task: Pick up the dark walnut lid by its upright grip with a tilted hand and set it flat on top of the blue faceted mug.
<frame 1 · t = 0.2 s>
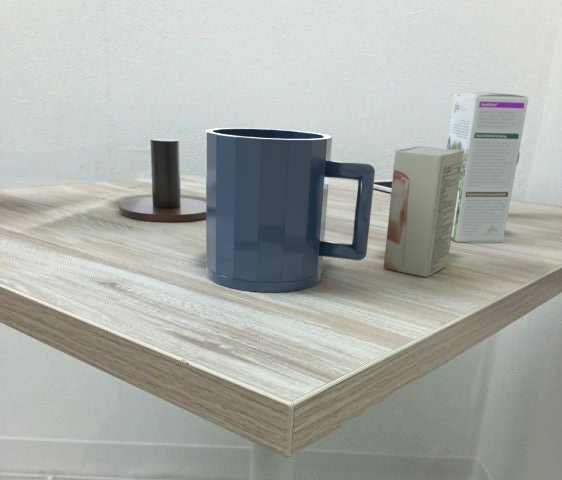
printed cream carton: (414, 270, 58), on the table
light bulb: (485, 215, 84), on the table
cell phone: (409, 193, 97), on the table
lid: (166, 212, 75), on the table
syrup box: (467, 238, 71), on the table
blue faceted mug: (263, 275, 53), on the table
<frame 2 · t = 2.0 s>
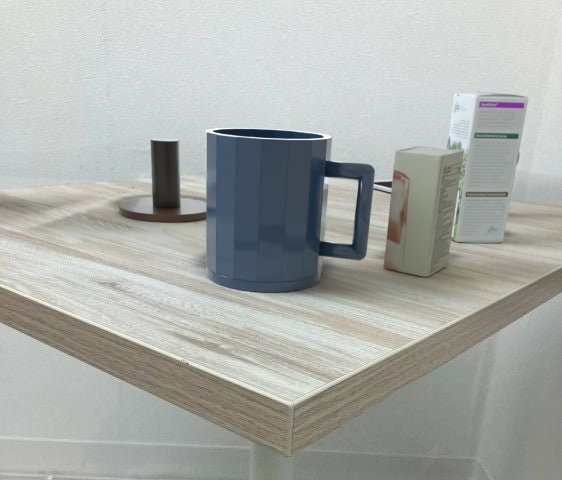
nothing on the table moved.
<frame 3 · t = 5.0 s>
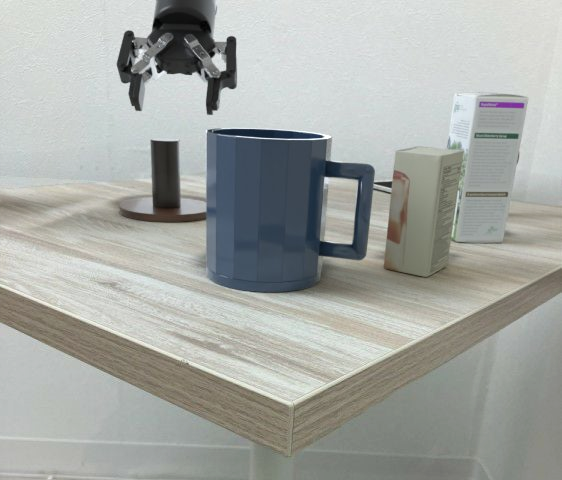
hand: (173, 108, 76), 11 cm above the table, tool tilted 45°, fingers open, 8 cm apart
nothing on the table moved.
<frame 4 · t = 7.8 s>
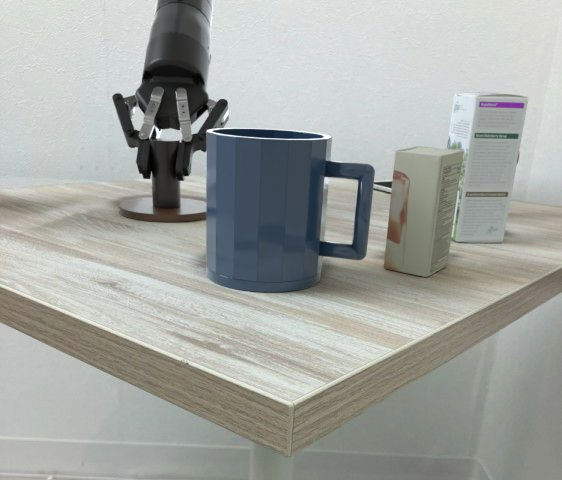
hand: (162, 174, 71), 4 cm above the table, tool tilted 45°, fingers closed on lid, 3 cm apart
lid: (166, 212, 75), on the table, touching gripper
everything else where it was.
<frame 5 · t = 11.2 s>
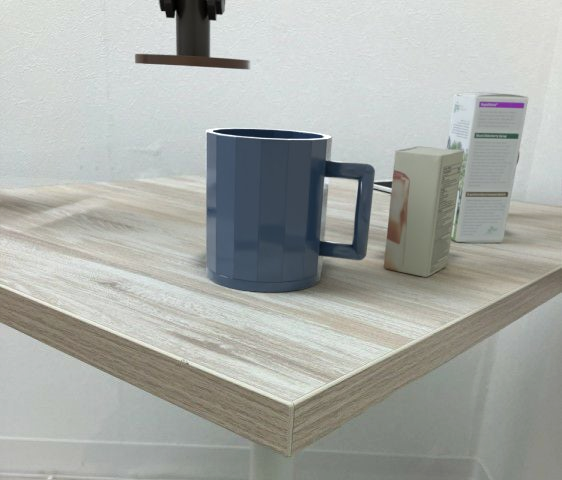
hand: (190, 10, 57), 20 cm above the table, tool tilted 45°, fingers closed on lid, 3 cm apart
lid: (193, 66, 61), point 15 cm above the table, touching gripper
everything else where it was.
when the fingers open (16 cm above the table, at t = 15.0 s): lid stays where it is, resting on blue faceted mug.
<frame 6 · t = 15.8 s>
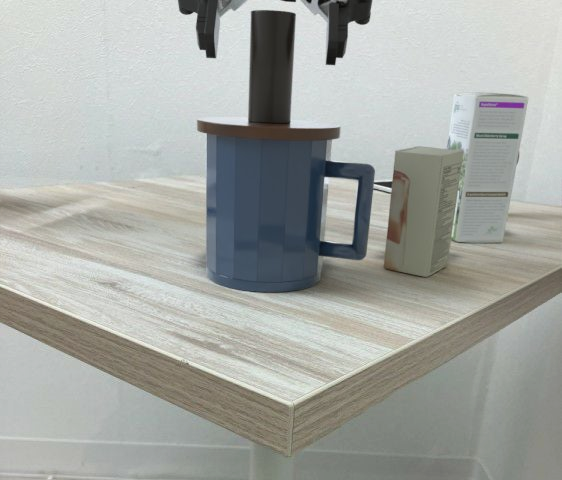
hand: (271, 52, 45), 16 cm above the table, tool tilted 45°, fingers open, 8 cm apart
lid: (268, 133, 49), point 11 cm above the table, touching blue faceted mug
everything else where it was.
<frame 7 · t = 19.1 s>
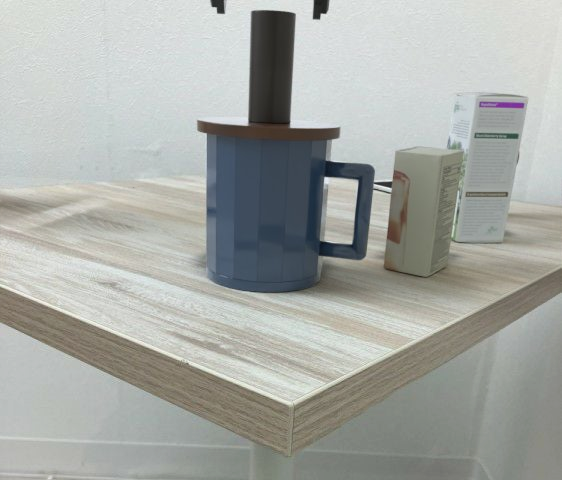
hand: (269, 8, 57), 20 cm above the table, tool tilted 45°, fingers open, 8 cm apart
nothing on the table moved.
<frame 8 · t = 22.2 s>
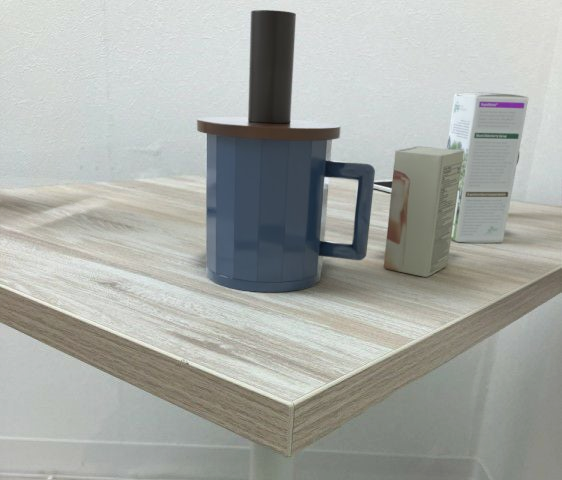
nothing on the table moved.
at the end: lid 0.0 cm off-centre on the blue faceted mug, point 11.0 cm above the blue faceted mug's base; lid tilted 0°; the gripper is holding nothing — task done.
